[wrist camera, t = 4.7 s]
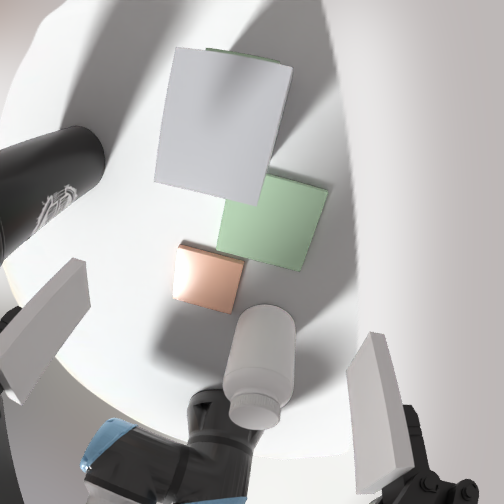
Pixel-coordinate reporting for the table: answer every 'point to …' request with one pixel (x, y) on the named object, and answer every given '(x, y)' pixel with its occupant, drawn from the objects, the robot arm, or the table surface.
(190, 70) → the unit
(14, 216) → the water bottle
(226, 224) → the green pad
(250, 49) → the table surface
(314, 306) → the table surface
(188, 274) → the terracotta pad
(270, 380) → the pill bottle
